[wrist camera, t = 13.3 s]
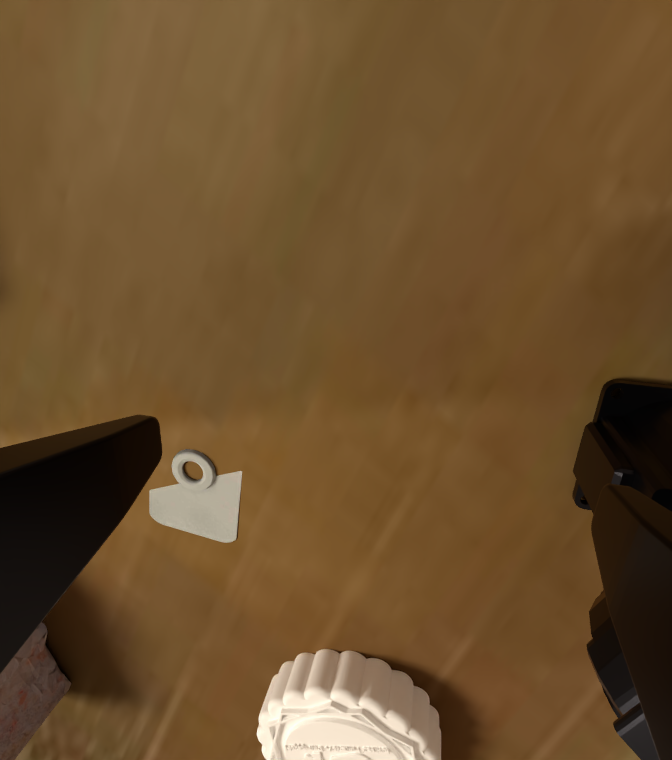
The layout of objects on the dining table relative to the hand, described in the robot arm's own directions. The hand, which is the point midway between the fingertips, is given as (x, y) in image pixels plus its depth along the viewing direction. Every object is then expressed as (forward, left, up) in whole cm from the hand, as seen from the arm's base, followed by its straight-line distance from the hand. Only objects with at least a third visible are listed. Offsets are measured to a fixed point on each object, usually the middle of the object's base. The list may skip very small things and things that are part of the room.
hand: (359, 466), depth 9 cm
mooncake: (+1, +28, -14) cm, 31 cm away
